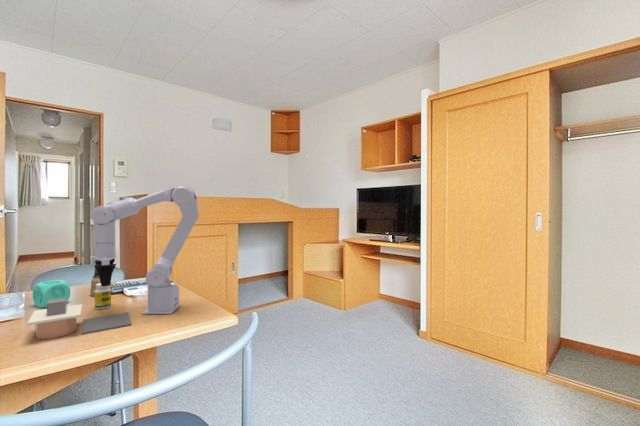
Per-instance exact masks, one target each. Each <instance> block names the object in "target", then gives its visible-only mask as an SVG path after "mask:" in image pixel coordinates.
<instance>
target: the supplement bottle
mask: <svg viewBox="0 0 640 426" xmlns="http://www.w3.org/2000/svg"><path fill="white" fill-rule="evenodd" d="M109 287H110V285H109V286H101V283H99V284H96V290H95V297H94V308H95V310H105V309H108V308H111V306H112V294H111V289H110V288H109Z"/></svg>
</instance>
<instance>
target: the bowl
mask: <svg viewBox="0 0 640 426" xmlns="http://www.w3.org/2000/svg"><path fill="white" fill-rule="evenodd" d="M34 326H35V337H36V338H37V340H38V339H39V340H41V339H42V340H43V339H44V340H45V339H51V340H52V339H55V338H60V337H62V336H66V335H69V334H71V333H74V331H76V330H77V317H76V318H70V319H64V320H57V321H51V322H45V323H39V324H34Z"/></svg>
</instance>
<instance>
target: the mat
mask: <svg viewBox="0 0 640 426" xmlns="http://www.w3.org/2000/svg"><path fill="white" fill-rule="evenodd" d="M129 313H130V312H129V311H128V312H122V313H121V312H120V313H115V314H110V315H109V314H108V315H103V316H96V317H91V318H84V319H83V320H82V327H81V328H82V329H81V335H88V334H91V333H98V332H102V331H108V330H113V329H114V330H115V329H118V328H119V329H120V328H124V327H130V326H132V322H131V318H130V314H129Z"/></svg>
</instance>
